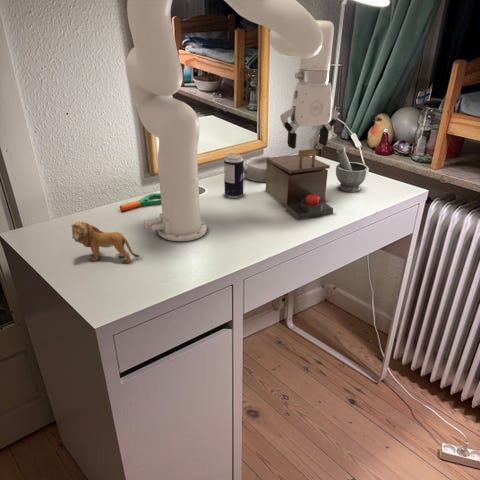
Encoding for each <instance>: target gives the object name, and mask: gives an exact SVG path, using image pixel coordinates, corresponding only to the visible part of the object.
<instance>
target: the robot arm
mask: <svg viewBox="0 0 480 480" xmlns="http://www.w3.org/2000/svg"><path fill="white" fill-rule="evenodd" d="M173 1H174V0H127V2H126V14H127V21H128V27H129V30H130V34H131V38H132V43H133V47H132V48H131V50H130V51H129V52H128V54H127V58H126V61H125V71H126V72H125V73H126V77H127V81H128V84H129V89H130V92H131V95H132V98H133V102H134V105H135V107H136V112H137V114H138V117H139V120H140V123H141V125H142V126H143V128H144V129H145V130H146V131H147V132H148V133H149V134H151V135H153V136H154V137H156V138H157V139H158V149H157V171H158V172H157V173H158V182H159V192H160V194H161V198H160V200H161V204H160V205H161V213H159V217H156V218H155V219H147V220H144V222H143V223H144V228H145V229H151V230H152V231H157V233H158V235H159V236H160V237H161V238H163V239H165V240H166V241H167V240H168V241H173V242H189V241H194V240H197V239H200V238H201V237H203V236H205V235H206V233H207V228H208V227H207V224H206V223H205V222H204V221H202V220H201V207H200V206H201V205H200V186H199V185H200V184H199V165H198V150H199V148H198V147H199V140H200V130H201V129H200V128H201V127H200V121H199V117H198V115H197V113H196V111H195V110H194V109H193V108H192V107H191V106H190V105H189V104H187V103H186V102H184V101H182V100H179V99H177V98H175V97H173V95H175V94H176V93H178V92H179V90H180V89H181V87H182V84H183V79H184V73H183V67H182V63H181V59H180V55H179V51H178V47H177V42H176V38H175V34H174V29H173V23H172V17H171V14H172V13H171V11H172V4H173ZM223 1H224V2H225V3H226V4H227V5H228V6H229V7H230V8H231V9H233V10H234V11H235V12H236V13H237V14H238V15H239V16H240V17H242V18H244V19H245V20H247V21H249V22H251V23H254V24H257V25H260V26H262V27H264V28H266V29H269V30H270V33H269V43H270V45H271V48H272V49H273V50H274V52H276V53H278V54H280V55H283V56H289V57H295V58H299V59H300V61H299V62H300V63H299V69H298V72H295V73H294V78H295V79H297V80H298V82H296V83H295V87H294V91H293V95H292V103H291V108H289V109H288V110H286V111H284V112H283V113H282V114H280V116H279V118H280V121H281V123H282V126H283V128H285V130H286V132H287V141H286V142H287V146H288V148H290V149H292V150H294V149H296V147H297V137H298V136H297V132H296V131H298V128H299V127H312V126H313V127H314V126H321V128H320V129H319V137H318V144H319V145H322V146H323V147H326V146H327V144H328V140H329V134H330V131H331V130H332V127H333V126H334V125H335V124H336V122H337V119H338V117H339V116H340V112H339V111H338V110H336V108H333V101H332V100H333V91H332V83H331V82H329V79H330V71H331V70H330V69H331V62H332V61H331V60H332V52H333V43H334V42H333V41H334V33H335V25H334V23H333V22H332V21H330V20H322V19H321V20H319V19H318V20H317V19H315V18H314V17H313V15H312V14H311V13H310V12H309V11H308V10H307V9H306V8H305V7H304V6H303V5H302V4H301V3H300V2H299V1H297V0H223ZM289 118H290V121H291V122H290V123H289Z"/></svg>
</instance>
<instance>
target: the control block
mask: <svg viewBox="0 0 480 480" xmlns="http://www.w3.org/2000/svg"><path fill="white" fill-rule="evenodd" d="M286 212H287V213H289V214H290V215H291V216H293V217H294V218H295V219H296V220H298V221H300V220H304V219H311V218H317V217H323V216H329V215H333V214H334V207H332V206H330V205H329V204H327V203H326V201H323V200H321V199H319V204H316V205H310V204H306V198H304V199H302V200H301V201H300V203H298V204H291V205H287V207H286Z"/></svg>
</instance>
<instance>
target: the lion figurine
mask: <svg viewBox="0 0 480 480" xmlns="http://www.w3.org/2000/svg"><path fill="white" fill-rule="evenodd" d="M70 226H71V235H72V236H71V238H72V239H73V240H74V242H75V243H79V244H81V245H83V247H85V248H90V250H91V252H92V254H93V257H91V260H92V261H93V262H95V261H98V259H99V255H100V248H104V249H107V248H108V249H109V248H111V247H114V248H115V250H116V252H118V257H125V258H126V259H124V263H126V264H129V263H130V262H131V256H133V257H135V258H140V255H139V254H137V253H135V252H133V250H132V247H131V246H130V244H129V241H128V240H127V238H126V237H125V235H124V234H122V233H121V232H119V231H112V232H106V231H101V230H100V229H99V228H98V227H96V226H94V225H93V224H90V223H88V222H85V221H76V222H75V223H73V224H71V225H70ZM125 245H126V248H127V249H128V251H129V253H130V254H131V256H130V254H129V253H128V251H126V249H125Z"/></svg>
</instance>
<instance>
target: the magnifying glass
mask: <svg viewBox="0 0 480 480" xmlns="http://www.w3.org/2000/svg"><path fill="white" fill-rule="evenodd" d="M157 198H159V199H157ZM152 199H155V200H152ZM154 205H155V206H156V205H162V204H161V194H160V193H159V192H158V193H157V192H156V193H150V194H147V195H145V196H143V197H141V199H139V200H135V201H132V202H128V203H124V204H120V205H119V210H120V211H122V212H123V211H128V210H132V209H135V208H138V207H144V206H145V207H146V206H154Z"/></svg>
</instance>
